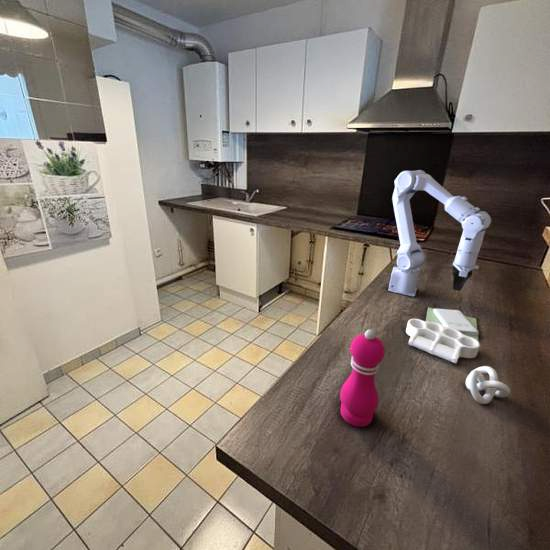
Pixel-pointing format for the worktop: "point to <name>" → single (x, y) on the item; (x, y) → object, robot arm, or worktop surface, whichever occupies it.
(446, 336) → the white brass knuckles
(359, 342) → the pepper mill
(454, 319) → the hard drive
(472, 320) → the mat
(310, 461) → the worktop surface
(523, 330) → the worktop surface
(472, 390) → the knot
